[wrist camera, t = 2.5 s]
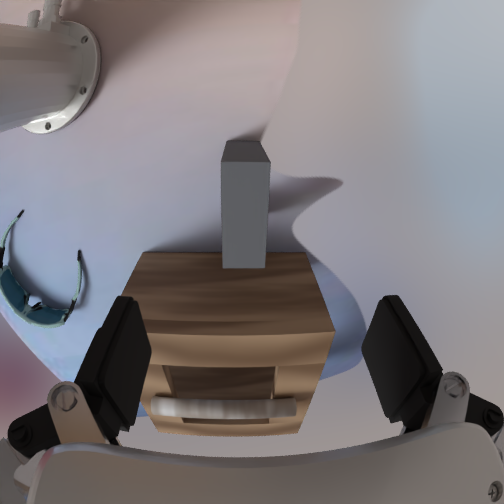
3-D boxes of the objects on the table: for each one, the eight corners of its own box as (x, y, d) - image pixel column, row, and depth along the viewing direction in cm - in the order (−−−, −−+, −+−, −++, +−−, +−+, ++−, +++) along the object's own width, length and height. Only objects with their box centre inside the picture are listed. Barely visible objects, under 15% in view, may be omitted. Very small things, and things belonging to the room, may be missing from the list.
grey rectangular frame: (226, 140, 25) (220, 161, 16) (259, 141, 25) (270, 162, 17) (226, 216, 28) (222, 268, 20) (256, 216, 28) (264, 268, 20)
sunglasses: (4, 277, 31) (-12, 294, 27) (22, 197, 27) (0, 208, 23) (70, 324, 36) (58, 345, 31) (99, 251, 32) (85, 269, 28)
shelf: (142, 252, 30) (97, 347, 18) (305, 252, 31) (342, 350, 19) (169, 364, 40) (157, 444, 28) (286, 364, 41) (299, 446, 29)
